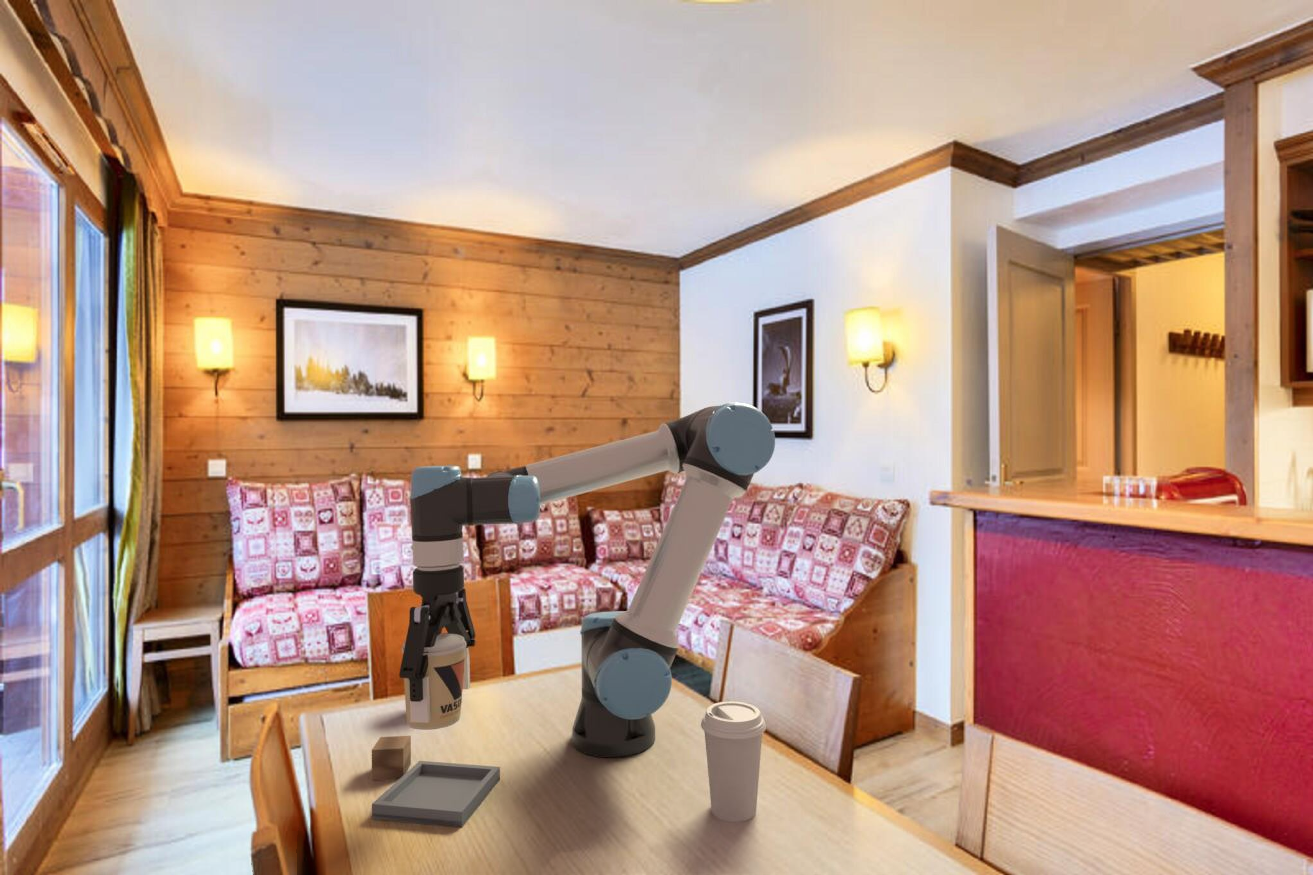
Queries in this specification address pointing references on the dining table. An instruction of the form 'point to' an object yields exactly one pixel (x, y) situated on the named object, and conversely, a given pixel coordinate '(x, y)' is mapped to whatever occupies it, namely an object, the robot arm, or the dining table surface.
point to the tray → (437, 794)
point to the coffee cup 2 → (733, 758)
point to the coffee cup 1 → (442, 682)
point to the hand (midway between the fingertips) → (442, 703)
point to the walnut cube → (391, 757)
